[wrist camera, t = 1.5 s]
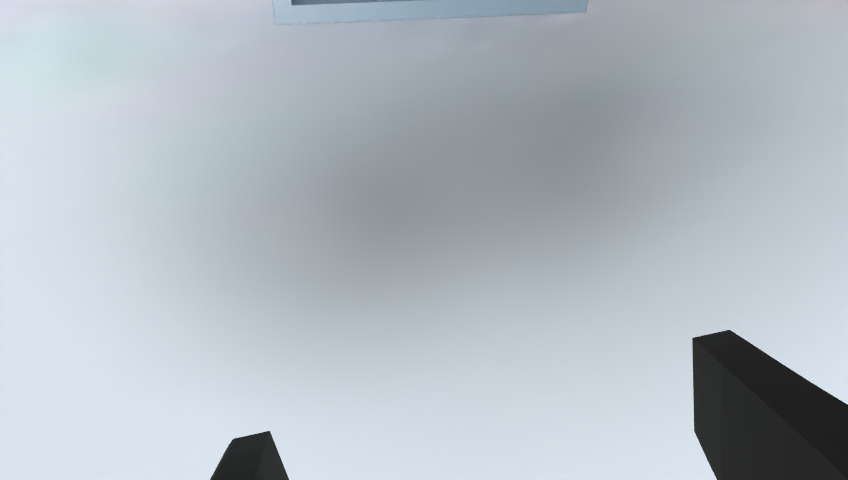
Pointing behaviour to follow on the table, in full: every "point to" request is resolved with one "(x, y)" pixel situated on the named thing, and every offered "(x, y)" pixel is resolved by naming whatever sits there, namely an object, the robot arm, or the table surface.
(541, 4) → the tray
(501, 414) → the table surface
